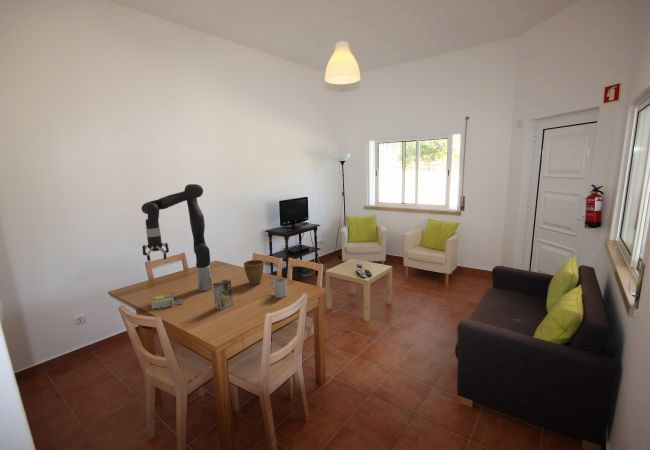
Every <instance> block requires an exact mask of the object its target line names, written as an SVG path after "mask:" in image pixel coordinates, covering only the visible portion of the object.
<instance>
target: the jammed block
mask: <svg viewBox="0 0 650 450" xmlns="http://www.w3.org/2000/svg"><path fill="white" fill-rule="evenodd" d="M154 297H155V301H159V300H165V294H159V295H155V296H154Z"/></svg>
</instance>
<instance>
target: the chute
mask: <svg viewBox="0 0 650 450" xmlns="http://www.w3.org/2000/svg"><path fill="white" fill-rule="evenodd" d="M164 295H165V294H164ZM155 297H156V296H152V301H151V302H150V303H151V304H150V305H151V310H155V309H154V308H158V309H161V308H160V307H164V308H168V307H167V306H170V308H174V306H173V305H176V306H179V305H180V304H181V305H183V298H181V297H180V298H176V299H175V295H174V291H171V293H169V294H166V295H165V300H159V301H155ZM181 305H180V306H181Z"/></svg>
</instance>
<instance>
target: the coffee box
mask: <svg viewBox="0 0 650 450" xmlns="http://www.w3.org/2000/svg"><path fill="white" fill-rule="evenodd" d="M212 290H213V299H214V307H215V309H218V310H221V311H222V310H225V309H227V308H229V307H230V306H233V305H234V302H233V292H232V290H233V289H232V282H231V280H228V279H222V280H219V281H217V282H214V283H212Z"/></svg>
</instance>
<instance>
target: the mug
mask: <svg viewBox="0 0 650 450" xmlns="http://www.w3.org/2000/svg"><path fill="white" fill-rule="evenodd" d="M271 288H272V290H273V295H274V296H273V297H275V298H279V299H280V298H281V299H282V298H285V297H287V295H288V291H287V279H286V278H284V277H277V278H274V279H272V281H271Z"/></svg>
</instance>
